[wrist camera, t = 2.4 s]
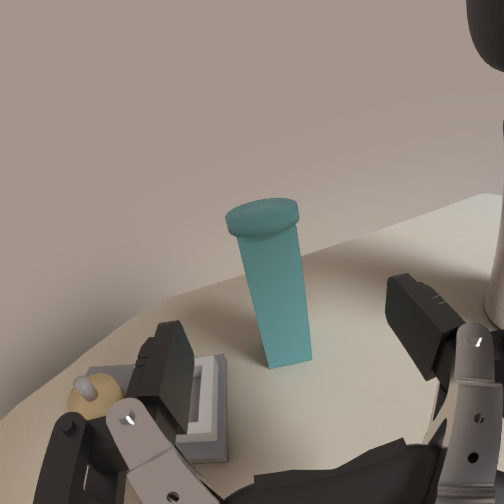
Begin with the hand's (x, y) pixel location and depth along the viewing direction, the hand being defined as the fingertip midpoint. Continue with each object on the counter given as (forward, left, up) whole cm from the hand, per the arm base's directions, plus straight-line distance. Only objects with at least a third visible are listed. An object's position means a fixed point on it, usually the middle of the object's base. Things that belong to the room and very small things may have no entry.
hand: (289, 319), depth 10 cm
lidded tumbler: (0, -11, -13) cm, 17 cm away
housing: (+14, -6, -13) cm, 20 cm away
